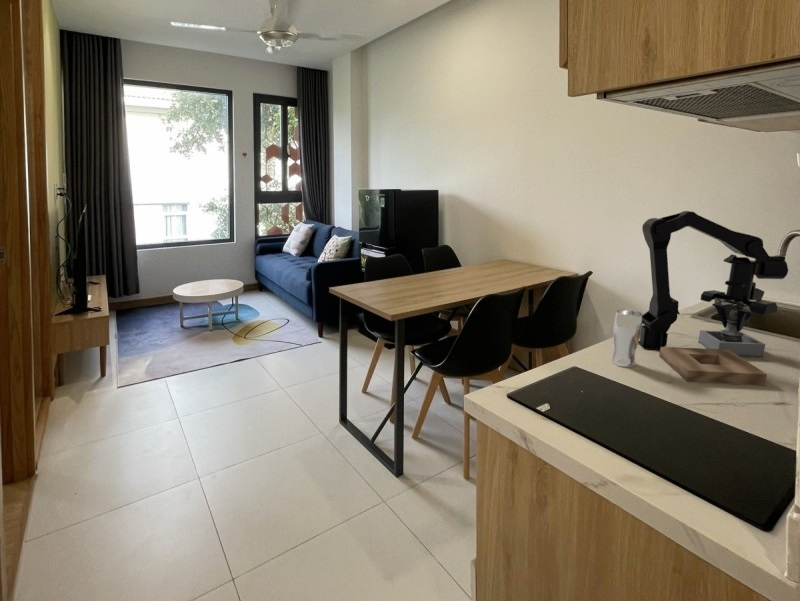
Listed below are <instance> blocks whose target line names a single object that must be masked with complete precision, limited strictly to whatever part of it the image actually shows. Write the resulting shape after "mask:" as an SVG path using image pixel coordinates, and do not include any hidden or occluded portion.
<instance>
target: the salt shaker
mask: <svg viewBox="0 0 800 601" xmlns="http://www.w3.org/2000/svg"><path fill="white" fill-rule="evenodd" d="M738 310H740V309H738V305H734V308H732V309H731V310H730V311H729V317H728V319H727V326H726V328H724V329H720V330H719V331H720V333H721V337H722V338H723V339H724V340H722V341H721V342H737V341H739V340H740V339H741V338H742V336H743V335H744V334H743V333H744V332H743V333H741V332H742V331H737V316H738Z"/></svg>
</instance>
